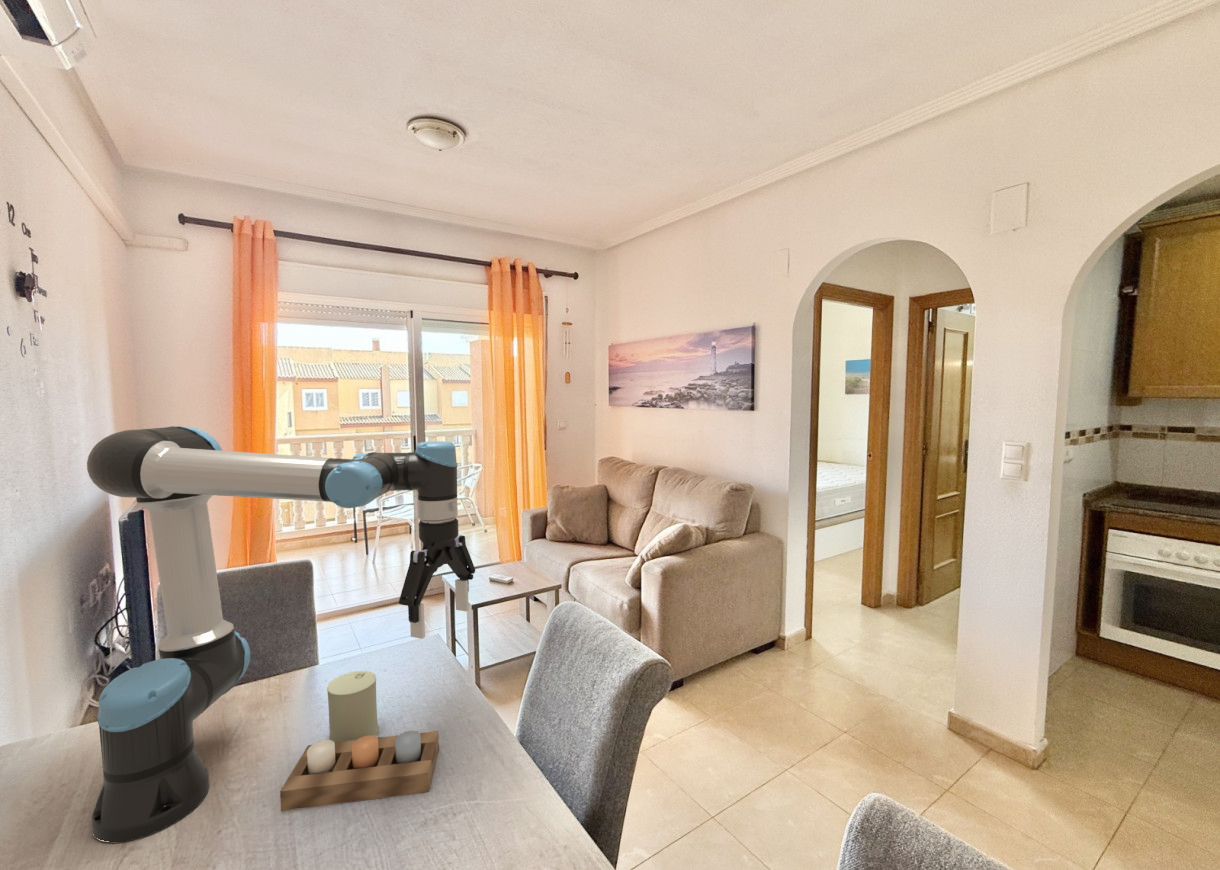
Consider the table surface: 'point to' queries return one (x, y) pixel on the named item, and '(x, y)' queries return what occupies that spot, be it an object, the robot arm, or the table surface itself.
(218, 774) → the table surface
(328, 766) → the white egg
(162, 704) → the robot arm
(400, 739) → the blue-grey egg
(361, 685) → the can
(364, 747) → the orange egg
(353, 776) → the wooden egg holder
